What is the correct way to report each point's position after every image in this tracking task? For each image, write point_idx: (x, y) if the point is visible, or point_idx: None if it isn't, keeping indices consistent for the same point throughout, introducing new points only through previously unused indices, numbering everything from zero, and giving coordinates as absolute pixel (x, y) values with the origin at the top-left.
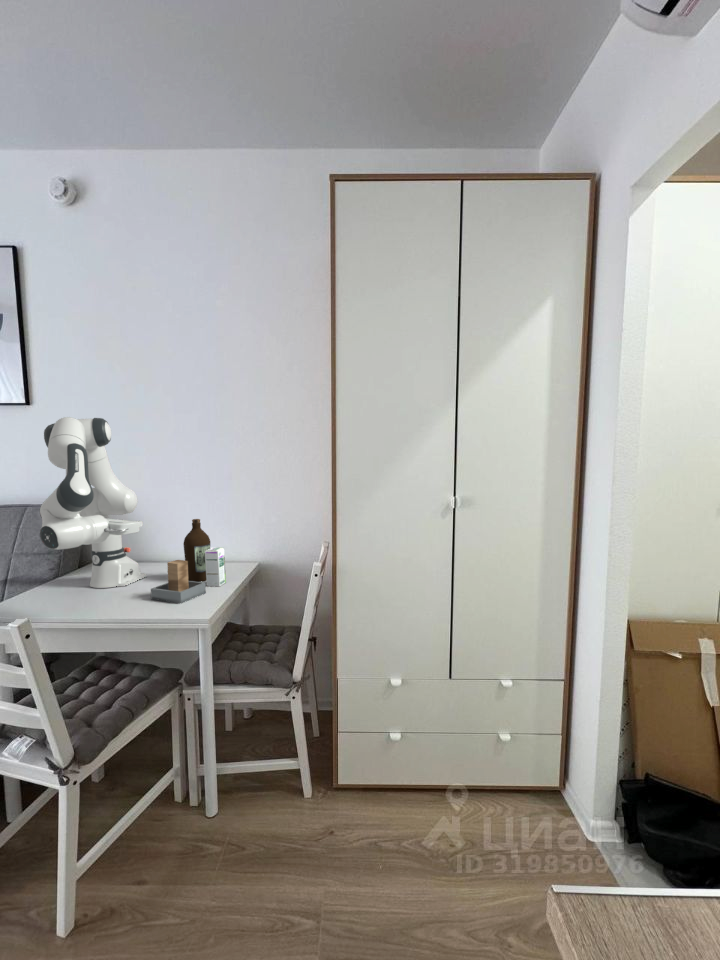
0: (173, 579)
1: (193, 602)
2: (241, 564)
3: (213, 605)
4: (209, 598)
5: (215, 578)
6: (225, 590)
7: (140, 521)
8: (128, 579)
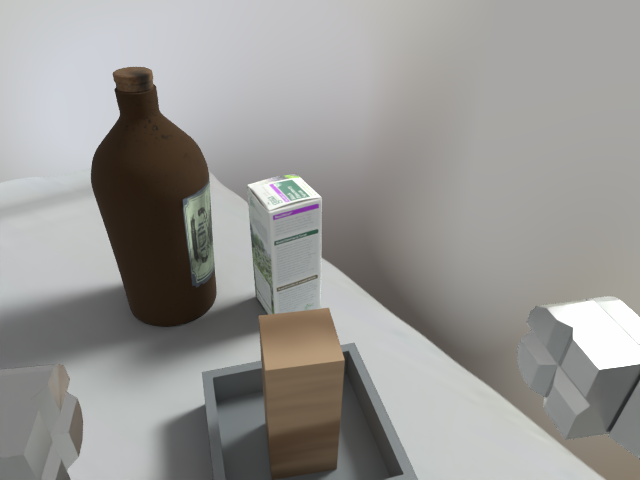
0: (307, 424)
1: (434, 468)
2: None
3: (534, 445)
4: (427, 402)
5: (307, 292)
6: (376, 324)
7: (637, 317)
8: None
